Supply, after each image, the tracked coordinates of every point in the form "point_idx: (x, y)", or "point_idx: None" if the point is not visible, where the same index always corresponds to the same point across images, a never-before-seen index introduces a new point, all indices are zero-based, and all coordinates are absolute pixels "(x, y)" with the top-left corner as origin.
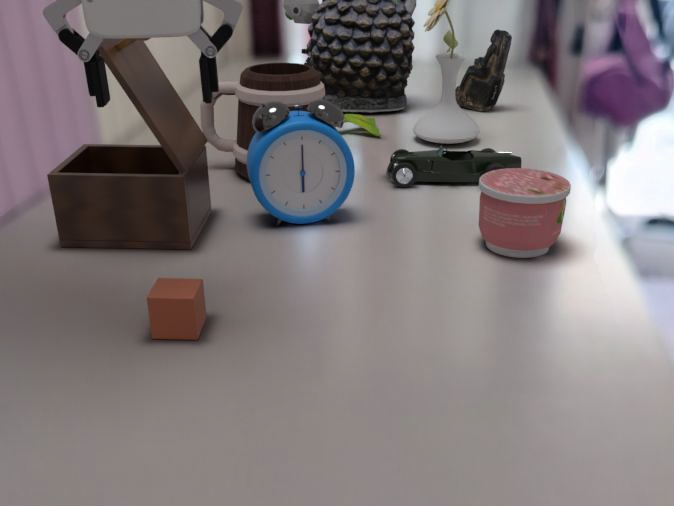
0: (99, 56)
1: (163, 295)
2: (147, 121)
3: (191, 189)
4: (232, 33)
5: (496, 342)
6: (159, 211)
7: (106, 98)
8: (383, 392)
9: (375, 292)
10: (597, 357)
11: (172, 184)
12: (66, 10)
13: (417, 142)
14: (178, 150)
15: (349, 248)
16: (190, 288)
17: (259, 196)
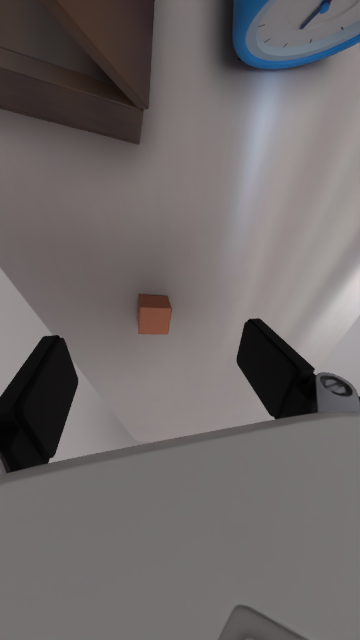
0: (19, 437)
1: (149, 331)
2: (60, 20)
3: None
4: None
5: (300, 319)
6: (100, 120)
7: (70, 371)
8: None
9: (272, 263)
10: (327, 329)
11: (122, 111)
12: None
13: None
14: (133, 45)
15: (287, 168)
16: (165, 322)
17: (237, 42)
